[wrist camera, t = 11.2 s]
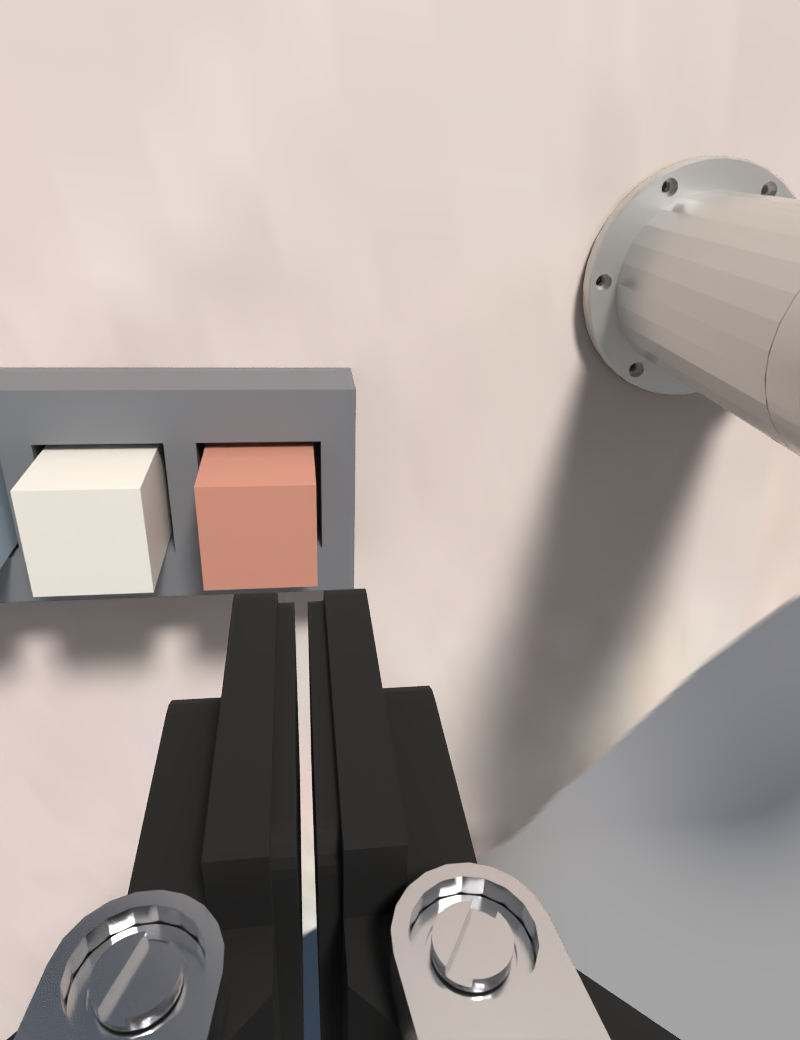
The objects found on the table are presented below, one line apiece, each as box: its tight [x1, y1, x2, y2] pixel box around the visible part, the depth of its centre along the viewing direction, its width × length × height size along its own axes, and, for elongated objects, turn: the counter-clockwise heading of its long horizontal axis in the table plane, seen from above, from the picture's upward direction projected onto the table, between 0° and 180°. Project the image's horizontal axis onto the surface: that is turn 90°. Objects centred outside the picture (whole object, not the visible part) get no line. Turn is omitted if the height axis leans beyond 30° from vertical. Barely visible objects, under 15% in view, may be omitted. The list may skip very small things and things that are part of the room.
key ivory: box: [10, 443, 172, 597], centre depth 38 cm, size 6×6×6 cm
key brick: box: [194, 441, 318, 590], centre depth 39 cm, size 6×6×6 cm
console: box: [0, 368, 356, 603], centre depth 41 cm, size 26×12×4 cm, turn 89°
